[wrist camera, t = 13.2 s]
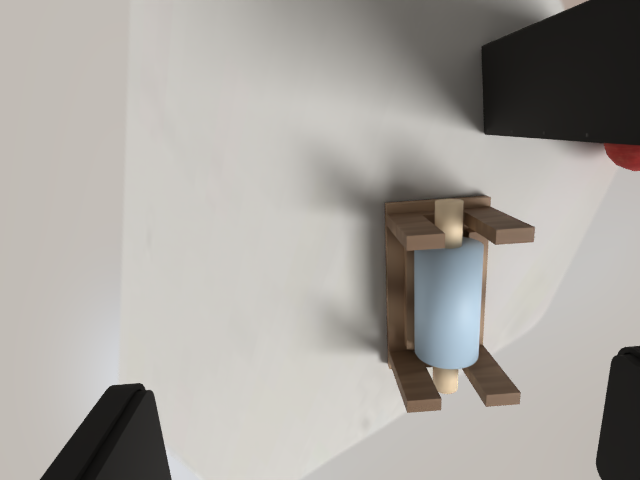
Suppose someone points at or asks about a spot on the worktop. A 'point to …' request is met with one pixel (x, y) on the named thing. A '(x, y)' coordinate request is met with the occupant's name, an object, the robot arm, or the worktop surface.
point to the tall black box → (568, 76)
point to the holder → (401, 240)
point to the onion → (624, 155)
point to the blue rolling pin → (448, 299)
